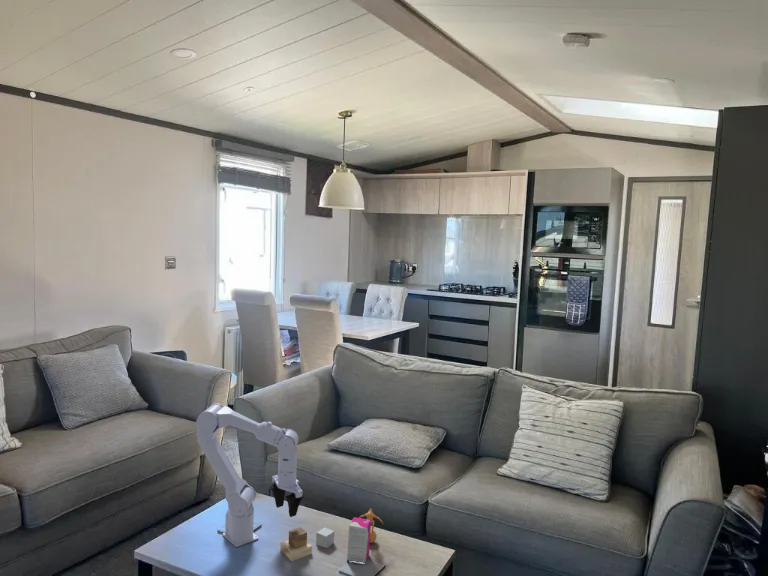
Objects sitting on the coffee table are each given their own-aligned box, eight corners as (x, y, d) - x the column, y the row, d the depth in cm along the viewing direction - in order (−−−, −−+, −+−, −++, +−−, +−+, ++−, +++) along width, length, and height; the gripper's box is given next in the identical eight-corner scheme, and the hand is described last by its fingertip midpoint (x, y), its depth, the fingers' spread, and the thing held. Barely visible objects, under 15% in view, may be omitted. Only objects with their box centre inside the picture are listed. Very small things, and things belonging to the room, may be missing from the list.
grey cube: (316, 544, 175) (316, 532, 174) (324, 539, 178) (324, 527, 178) (325, 548, 173) (326, 536, 172) (333, 543, 176) (334, 531, 176)
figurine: (383, 540, 179) (385, 504, 178) (381, 550, 173) (382, 513, 172) (358, 537, 180) (360, 502, 179) (355, 547, 174) (356, 510, 173)
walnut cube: (288, 543, 170) (288, 530, 170) (299, 539, 173) (300, 526, 172) (295, 549, 167) (296, 536, 167) (306, 544, 170) (307, 532, 169)
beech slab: (280, 552, 170) (280, 542, 170) (299, 544, 175) (300, 535, 175) (291, 562, 165) (291, 553, 165) (311, 555, 169) (312, 545, 169)
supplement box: (365, 565, 164) (367, 528, 164) (346, 562, 166) (347, 525, 165) (370, 554, 170) (371, 519, 169) (351, 551, 171) (352, 516, 170)
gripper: (311, 474, 171) (309, 516, 172) (285, 459, 182) (284, 499, 183) (291, 480, 167) (290, 523, 168) (266, 464, 177) (265, 505, 178)
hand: (286, 511), depth 175 cm, fingers open, 7 cm apart
